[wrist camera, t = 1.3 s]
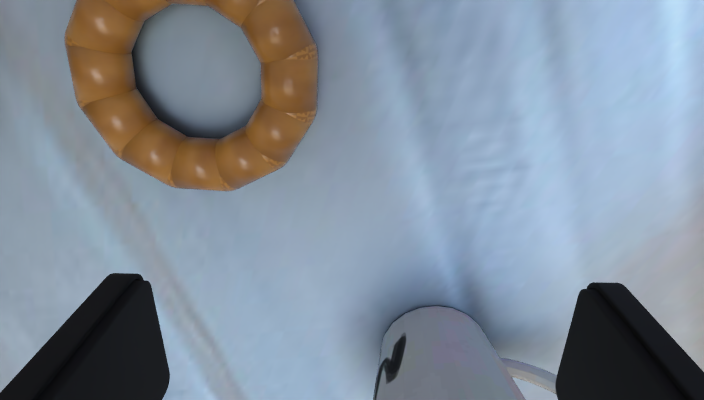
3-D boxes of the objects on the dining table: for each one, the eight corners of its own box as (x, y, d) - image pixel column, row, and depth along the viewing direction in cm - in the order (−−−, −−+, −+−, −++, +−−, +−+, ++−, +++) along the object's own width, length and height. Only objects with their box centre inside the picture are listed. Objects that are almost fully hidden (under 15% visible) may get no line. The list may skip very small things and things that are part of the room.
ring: (66, -68, 22) (25, -78, 20) (323, -53, 23) (317, -60, 20) (110, 172, 28) (82, 191, 25) (317, 184, 28) (312, 204, 25)
